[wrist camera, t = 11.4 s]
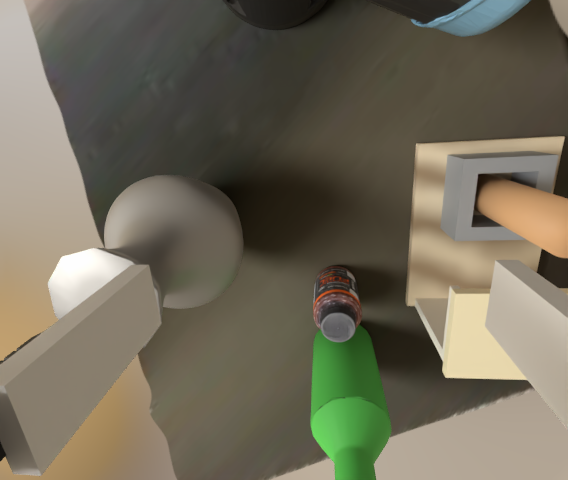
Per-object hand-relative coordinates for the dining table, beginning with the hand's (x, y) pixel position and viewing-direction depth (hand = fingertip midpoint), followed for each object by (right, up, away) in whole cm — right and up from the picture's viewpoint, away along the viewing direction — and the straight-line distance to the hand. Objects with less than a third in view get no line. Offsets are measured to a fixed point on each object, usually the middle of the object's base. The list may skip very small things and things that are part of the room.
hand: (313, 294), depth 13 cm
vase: (-11, +6, +34) cm, 37 cm away
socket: (+23, +8, +28) cm, 37 cm away
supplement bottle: (+6, -4, +36) cm, 37 cm away
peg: (+23, +8, +28) cm, 37 cm away
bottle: (+8, -13, +39) cm, 42 cm away
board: (+24, +4, +31) cm, 39 cm away
